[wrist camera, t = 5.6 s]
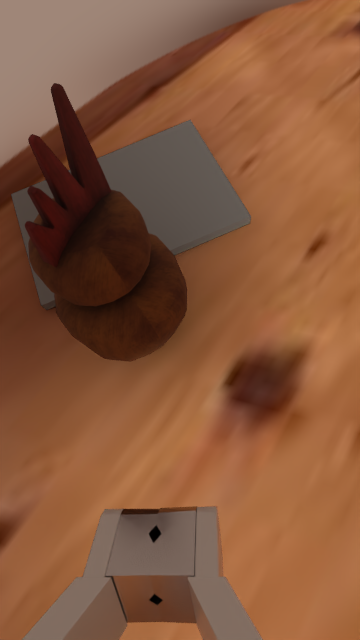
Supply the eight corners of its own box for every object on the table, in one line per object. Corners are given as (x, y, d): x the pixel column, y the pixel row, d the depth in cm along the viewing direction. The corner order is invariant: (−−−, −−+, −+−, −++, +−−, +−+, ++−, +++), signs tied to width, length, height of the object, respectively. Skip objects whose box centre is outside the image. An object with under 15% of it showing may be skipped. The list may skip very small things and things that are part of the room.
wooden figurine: (155, 266, 25) (62, 26, 11) (208, 321, 22) (179, 112, 9) (79, 326, 24) (-130, 146, 10) (128, 389, 22) (-50, 276, 8)
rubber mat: (250, 223, 25) (250, 215, 24) (46, 310, 24) (41, 305, 24) (191, 128, 29) (190, 119, 28) (16, 200, 29) (11, 194, 28)
